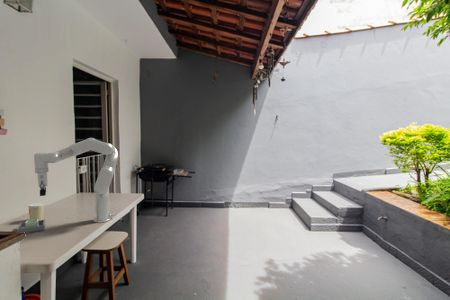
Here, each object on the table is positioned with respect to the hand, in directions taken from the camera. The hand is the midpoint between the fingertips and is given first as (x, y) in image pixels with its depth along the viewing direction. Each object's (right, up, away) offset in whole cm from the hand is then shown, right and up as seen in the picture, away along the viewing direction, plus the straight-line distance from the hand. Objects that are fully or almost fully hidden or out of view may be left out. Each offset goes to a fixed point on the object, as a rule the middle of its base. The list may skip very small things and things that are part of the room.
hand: (43, 194), depth 168 cm
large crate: (-4, -23, -5) cm, 24 cm away
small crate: (-4, -22, -5) cm, 23 cm away
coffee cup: (-15, -22, +13) cm, 30 cm away
